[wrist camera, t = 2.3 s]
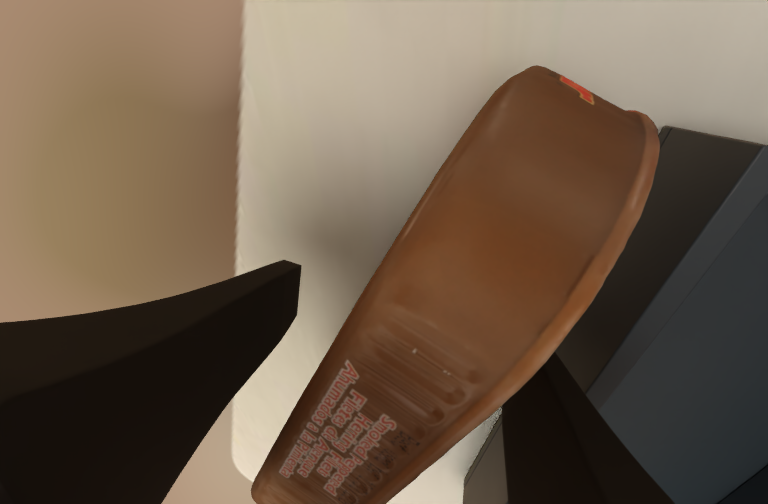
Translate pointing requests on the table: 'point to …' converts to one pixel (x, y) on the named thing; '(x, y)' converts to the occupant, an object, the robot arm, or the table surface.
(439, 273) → the tin
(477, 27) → the table surface
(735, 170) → the bin
